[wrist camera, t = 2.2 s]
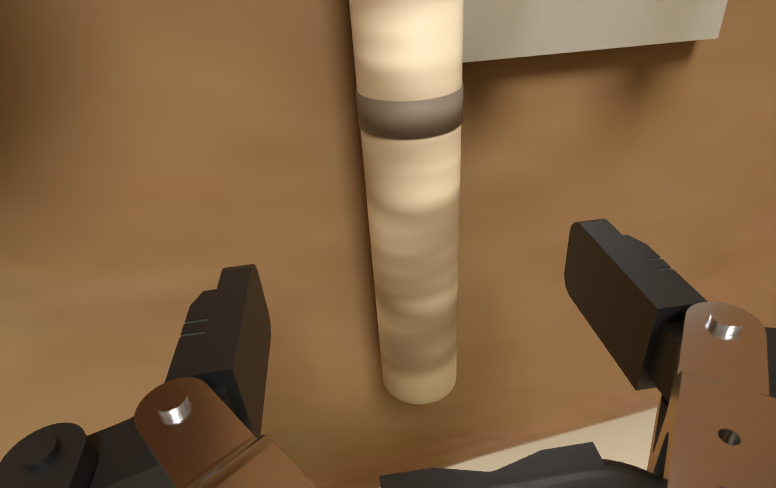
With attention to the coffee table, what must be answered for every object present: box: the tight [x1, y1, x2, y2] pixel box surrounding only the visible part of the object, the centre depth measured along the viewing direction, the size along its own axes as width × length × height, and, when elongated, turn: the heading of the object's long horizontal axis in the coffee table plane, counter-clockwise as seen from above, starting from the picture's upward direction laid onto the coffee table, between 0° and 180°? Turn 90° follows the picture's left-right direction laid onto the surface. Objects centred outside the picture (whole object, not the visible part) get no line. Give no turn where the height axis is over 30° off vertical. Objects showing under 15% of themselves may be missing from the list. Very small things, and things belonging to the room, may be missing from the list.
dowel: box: [349, 0, 464, 404], centre depth 19 cm, size 20×4×4 cm
